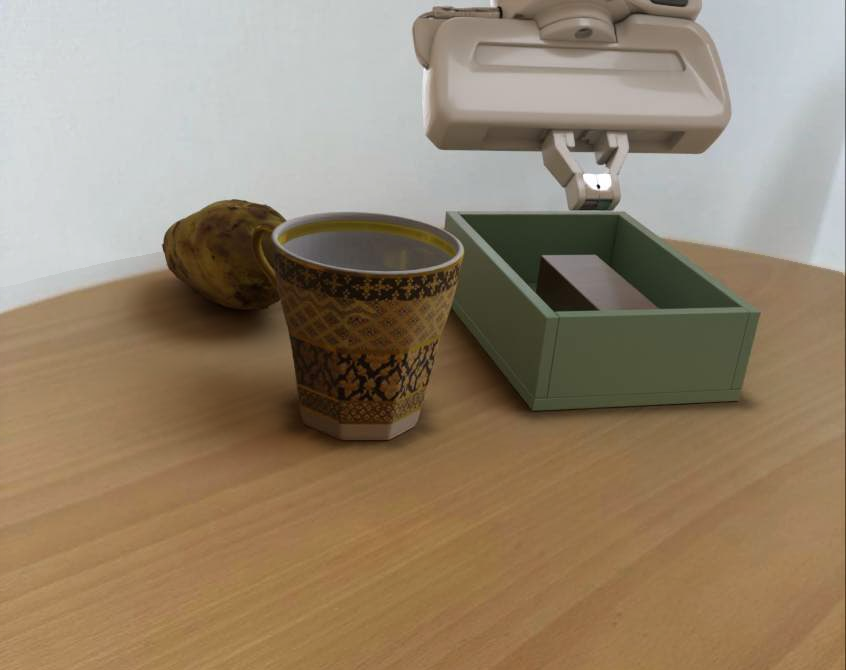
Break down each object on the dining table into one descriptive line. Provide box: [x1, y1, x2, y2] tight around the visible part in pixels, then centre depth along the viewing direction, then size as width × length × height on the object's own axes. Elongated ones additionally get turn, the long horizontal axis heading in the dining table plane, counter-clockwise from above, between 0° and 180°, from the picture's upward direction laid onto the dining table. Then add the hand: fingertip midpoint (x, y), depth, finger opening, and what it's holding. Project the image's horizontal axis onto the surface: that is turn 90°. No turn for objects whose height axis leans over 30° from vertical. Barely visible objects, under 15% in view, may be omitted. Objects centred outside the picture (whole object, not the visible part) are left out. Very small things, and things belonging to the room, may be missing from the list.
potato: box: [161, 198, 287, 311], centre depth 74 cm, size 8×13×8 cm, turn 13°
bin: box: [443, 210, 762, 412], centre depth 75 cm, size 14×20×6 cm
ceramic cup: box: [251, 211, 464, 441], centre depth 63 cm, size 13×10×10 cm
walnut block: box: [536, 255, 659, 313], centre depth 73 cm, size 4×4×12 cm
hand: (595, 206), depth 73 cm, fingers closed
